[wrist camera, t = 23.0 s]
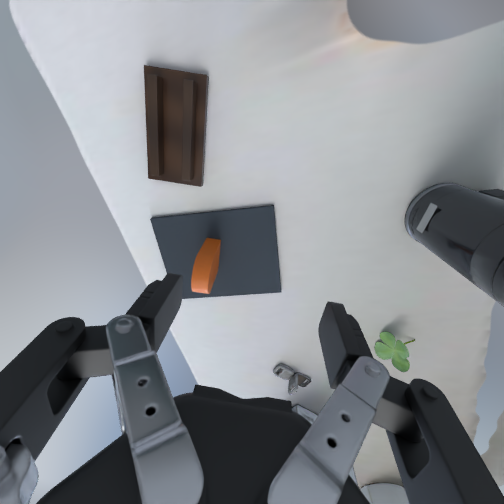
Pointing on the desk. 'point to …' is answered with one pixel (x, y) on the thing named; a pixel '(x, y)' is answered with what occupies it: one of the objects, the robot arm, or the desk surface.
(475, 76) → the desk surface
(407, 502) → the white paper roll
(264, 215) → the felt mat
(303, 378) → the strap clip
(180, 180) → the holder
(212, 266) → the orange curved block
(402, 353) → the green clover
